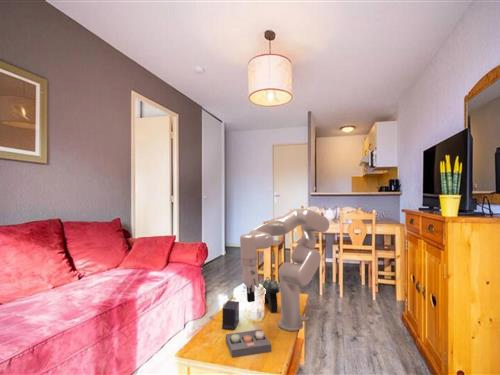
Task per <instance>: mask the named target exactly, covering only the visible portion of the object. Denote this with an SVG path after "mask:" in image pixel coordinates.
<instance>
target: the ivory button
mask: <svg viewBox="0 0 500 375" xmlns="http://www.w3.org/2000/svg"><path fill="white" fill-rule="evenodd" d="M264 334H265V333H264V331H263V330H262V331H257V332H256V340H263V339H264Z"/></svg>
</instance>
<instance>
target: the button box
mask: <svg viewBox="0 0 500 375" xmlns="http://www.w3.org/2000/svg"><path fill="white" fill-rule="evenodd" d="M257 331H263V330H262V329H253V330H248V331H240V332H232V333H225V342H226V344H227V349H228V351H229V354H230V357H231V358H237V357H244V356H250V355H251V356H253V355H258V354H263V353H270V352H272V344H271V342H270V341H269V339H268V337H267V336H266V335H265V333H264V339H263V340H256V332H257ZM233 334H238V335H239V336H240V342H239V343H235V344H232V343H231V336H232V335H233ZM246 335H250V336H251V337H252V341H249V342H244V336H246Z"/></svg>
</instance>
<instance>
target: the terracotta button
mask: <svg viewBox="0 0 500 375" xmlns="http://www.w3.org/2000/svg"><path fill="white" fill-rule="evenodd" d="M249 341H252V337H251V336H250V335H246V336H244V342H249Z"/></svg>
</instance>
